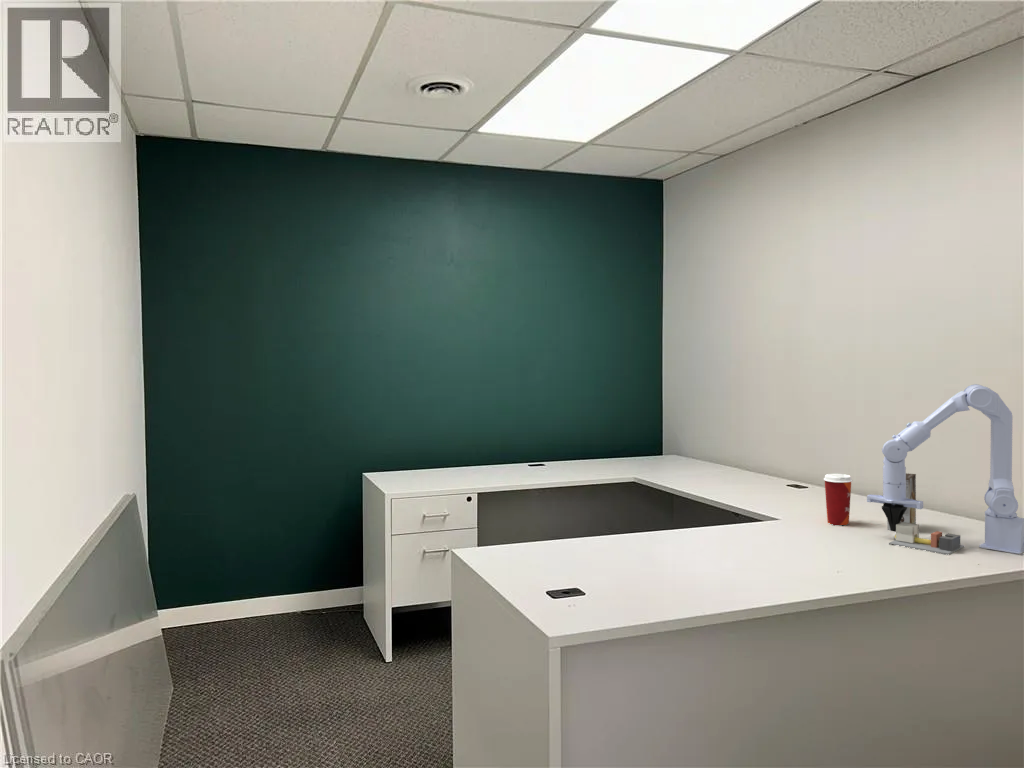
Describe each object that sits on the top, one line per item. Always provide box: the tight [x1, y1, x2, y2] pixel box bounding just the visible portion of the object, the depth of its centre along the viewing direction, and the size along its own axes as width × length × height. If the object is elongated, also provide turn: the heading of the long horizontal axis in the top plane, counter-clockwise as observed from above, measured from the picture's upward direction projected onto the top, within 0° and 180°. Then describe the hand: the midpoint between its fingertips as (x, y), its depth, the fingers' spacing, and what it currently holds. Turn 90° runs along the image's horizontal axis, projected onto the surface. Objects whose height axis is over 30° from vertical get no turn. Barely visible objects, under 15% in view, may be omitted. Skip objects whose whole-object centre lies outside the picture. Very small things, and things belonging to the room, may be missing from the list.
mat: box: [888, 539, 965, 556], centre depth 203 cm, size 15×11×1 cm
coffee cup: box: [823, 473, 853, 526], centre depth 229 cm, size 8×8×15 cm
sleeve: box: [895, 522, 920, 543], centre depth 206 cm, size 4×4×4 cm
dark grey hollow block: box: [939, 532, 961, 552], centre depth 199 cm, size 4×6×3 cm, turn 130°
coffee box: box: [886, 472, 917, 531], centre depth 222 cm, size 9×6×16 cm
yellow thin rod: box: [894, 534, 939, 545], centre depth 204 cm, size 13×1×1 cm, turn 40°
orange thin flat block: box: [930, 530, 943, 548], centre depth 201 cm, size 1×4×4 cm, turn 130°
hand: (894, 530), depth 209 cm, fingers closed
